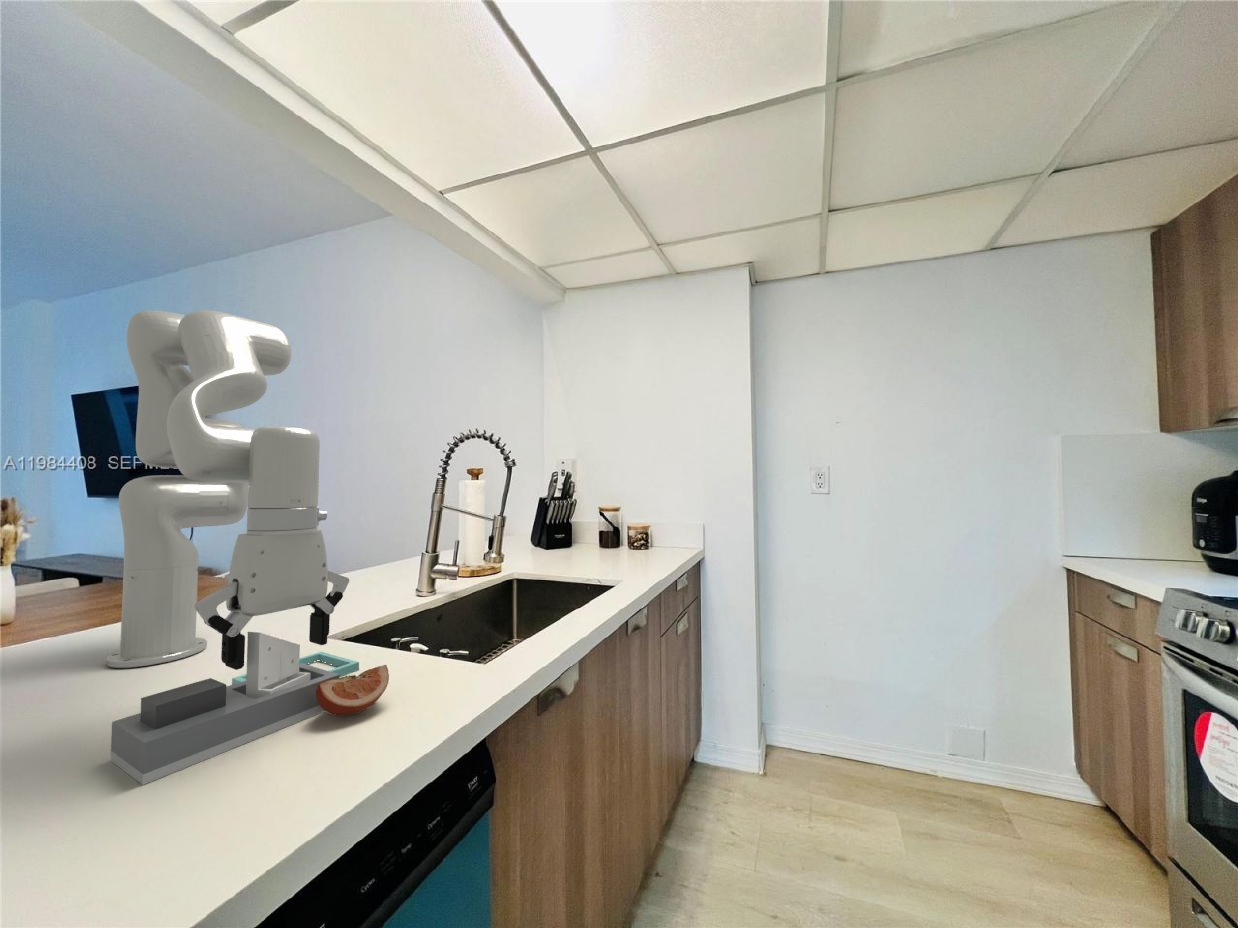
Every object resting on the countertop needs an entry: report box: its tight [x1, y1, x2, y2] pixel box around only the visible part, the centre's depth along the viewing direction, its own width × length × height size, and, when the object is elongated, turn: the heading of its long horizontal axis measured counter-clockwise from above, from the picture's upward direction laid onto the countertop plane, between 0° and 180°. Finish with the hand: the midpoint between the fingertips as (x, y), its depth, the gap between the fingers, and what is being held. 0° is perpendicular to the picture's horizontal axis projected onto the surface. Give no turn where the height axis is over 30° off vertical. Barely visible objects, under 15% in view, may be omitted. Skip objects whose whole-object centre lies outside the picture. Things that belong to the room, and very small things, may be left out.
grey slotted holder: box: [110, 663, 341, 786], centre depth 56 cm, size 9×19×6 cm, turn 151°
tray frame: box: [231, 651, 360, 685], centre depth 72 cm, size 11×13×1 cm
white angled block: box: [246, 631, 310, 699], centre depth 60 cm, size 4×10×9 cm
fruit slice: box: [316, 664, 390, 717], centre depth 60 cm, size 8×7×5 cm
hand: (279, 654), depth 61 cm, fingers open, 9 cm apart
